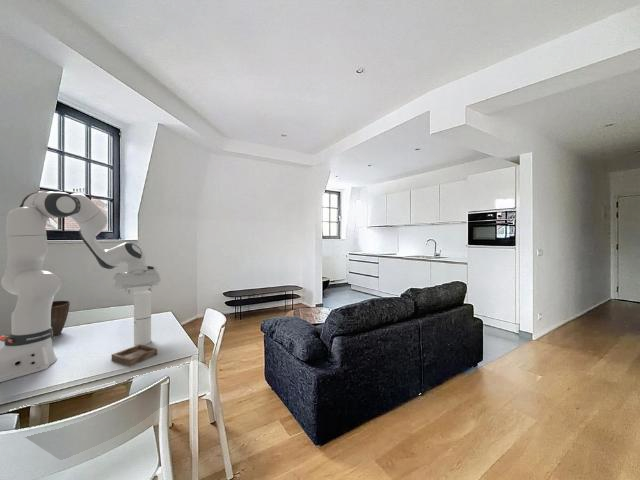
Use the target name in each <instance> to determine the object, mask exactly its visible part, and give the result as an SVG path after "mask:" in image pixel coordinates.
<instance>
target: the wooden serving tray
mask: <svg viewBox="0 0 640 480" xmlns="http://www.w3.org/2000/svg"><path fill="white" fill-rule="evenodd" d="M155 356H158V348H155V347H151V346H147V345H141V344H139V345H134V346H132V347H129V348H126V349H123V350H121V351H117V352H114V353H113V354H112V353H111V361H112V362H115V363H118V364H121V365H124V366H127V367H131V366H134V365H136V364H138V363H140V362H143V361H145V360H147V359H151V358H153V357H155Z"/></svg>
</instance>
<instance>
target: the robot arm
mask: <svg viewBox="0 0 640 480" xmlns="http://www.w3.org/2000/svg"><path fill="white" fill-rule="evenodd" d="M68 217H70V218H72V220H73V221H75V222H76V224H77V225H78V226H79V228H80V229H79V230H78V234H79V236H80V238H81V240H82V242H83V243H84V245H85V246H86V247H87V249H89V251H90V253H92V255H93V256H94V258H95V259H96V261H97V262H98V264H99V266H100V267H101V268H103V269H107V270H113V269H114V268H117V267H119V266H120V265H122V264H125V263H126V264H127V266H126V268H127V271H126V272H125V271H124V272H116V273H115V274H114V275H113V280H115V282H114V284H115V285H114V288H115V289H117V290H120V289H123V291H124V292H125V293H126V295H131V289H132V288H141V287H142V288H143V287H148V288H147V291H151V293H152V291H153V288H154V286H159V285H160V284H161V277H160V274H159V272H158V271H157V267H156V266H153V265H147V264H146V256H145V253H144V250H143V248H142V247H140V246H139V245H137V244H136V243H133V242H129V241H125V242H123V243H121V244H117V245H116V246H114V247H112V248H109V249H104V248H103V246H102V245H101V243H100V242H99V241H98V240H97V236H98V235H99V234H100V233H101V232H103V230H104V229H105V228H106V226H107V224H108V217H107V215H106V214H105V212H104V211H103V210H102V209H101V208H100V207H99V206H98V205H97V204H96V203H95V202H93V200H92V199H90V198H89V197H87V196H86V195H85V194H83V193H77V192H76V193H75V192H74V193H71V194H69V193H67V192H63V191H41V192H40V191H39V192H32V193H29V194H28V195H26V196H25V197H23V199H22V200H21V203H20V205H19V206H18V207H16V208H12V209H11V210H9V211H8V213H7V217H6V223H5V235H6V238H5V239H6V249H7V260H6V265H5V266H6V267H5V271H4V275H3V276H2V278H1V281H0V285H1V287H2V288H3V289H4V291H6V292H8V293H9V294H11V295H14V296H17V302H16V305H15V308H14V311H12V313H11V316H10V317H11V318H10V320H11V333H10V334H8V335H1V336H0V342H2V343H4V345H3V346H1V347H0V383H2V382H6V381H9V380H14V379H16V378H19V377H20V378H21V377H23V376H27V375H30V374H31V375H32V374H33V373H34V374H35V373H37V372H41V371H45V370H47V369H48V368H49V366H51V365H53V364H54V363H55V362H56V361H57V356H56V354H55V351H54V346H53V342H52V341H53V337H54V336H53V330H52V327H51V307H52V303H53V301H54V299H55V296H56V294H57V293H58V292H59V290H60V289H61V287H62V280H61V278H60V277H59V276H58V275H56V274H54V273H53V272H52V271H48V270H43V266H44V262H45V259H46V257H47V256H48V253H49V250H48V236H47V229H46V226H47V222H48V221H49V219H57V218H58V219H59V218H60V219H61V218H68Z"/></svg>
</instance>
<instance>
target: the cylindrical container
mask: <svg viewBox="0 0 640 480" xmlns="http://www.w3.org/2000/svg"><path fill="white" fill-rule="evenodd" d="M151 342H152V292H151V291H148V290H138V291H134V292H133V345H134V346H136V345H139V344H141V345H144V346H146V345H148V344H150V343H151Z"/></svg>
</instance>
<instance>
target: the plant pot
mask: <svg viewBox="0 0 640 480" xmlns="http://www.w3.org/2000/svg"><path fill="white" fill-rule="evenodd" d="M70 304H71V301H69V300H53V303H52V307H51V327H52V330H53V337H54V336H58V335H60V334H61V333H62V332H63V331H64V330H63V329H64V327H65V325H66V322H67V318H68V315H69V312H70V311H69V310H70Z"/></svg>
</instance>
